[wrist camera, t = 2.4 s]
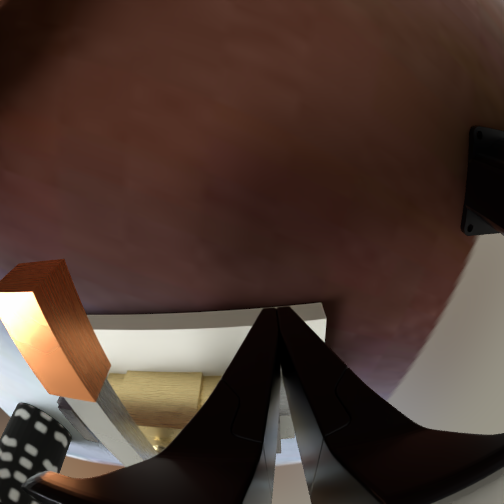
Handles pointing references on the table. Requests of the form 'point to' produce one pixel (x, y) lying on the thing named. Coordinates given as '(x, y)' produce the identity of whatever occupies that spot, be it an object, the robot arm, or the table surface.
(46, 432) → the spotted tube
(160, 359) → the base plate
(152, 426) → the valve pipe run
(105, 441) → the valve lever
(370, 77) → the table surface
